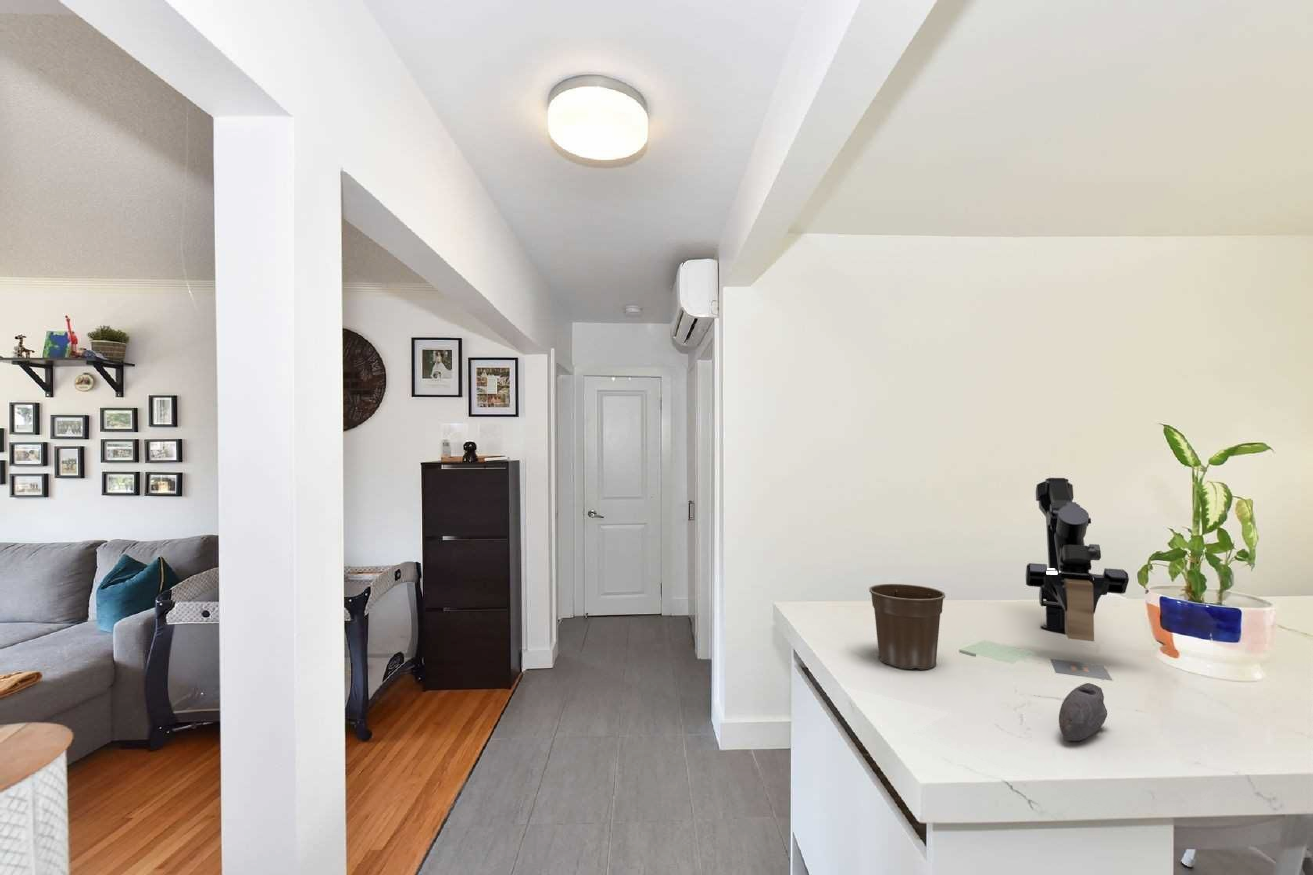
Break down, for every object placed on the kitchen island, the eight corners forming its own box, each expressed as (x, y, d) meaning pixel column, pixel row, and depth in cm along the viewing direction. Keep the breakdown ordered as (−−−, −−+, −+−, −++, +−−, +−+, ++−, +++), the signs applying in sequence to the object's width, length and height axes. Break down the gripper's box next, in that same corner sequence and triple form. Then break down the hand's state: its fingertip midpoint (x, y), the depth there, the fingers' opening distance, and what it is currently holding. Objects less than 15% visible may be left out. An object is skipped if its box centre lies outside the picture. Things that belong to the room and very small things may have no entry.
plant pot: (883, 645, 151) (883, 579, 152) (954, 659, 141) (953, 589, 142) (859, 663, 139) (858, 591, 139) (934, 680, 129) (933, 603, 129)
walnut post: (1064, 632, 136) (1064, 578, 136) (1090, 635, 134) (1089, 580, 134) (1068, 638, 132) (1067, 582, 132) (1094, 641, 130) (1093, 584, 130)
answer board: (984, 642, 153) (984, 640, 153) (1036, 655, 143) (1036, 653, 143) (959, 652, 146) (959, 649, 146) (1012, 666, 136) (1012, 663, 136)
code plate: (1049, 660, 140) (1049, 658, 140) (1103, 667, 135) (1103, 664, 135) (1055, 675, 131) (1055, 672, 131) (1113, 683, 126) (1113, 680, 126)
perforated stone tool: (1082, 753, 98) (1081, 709, 98) (1045, 740, 102) (1044, 698, 102) (1113, 726, 107) (1112, 686, 107) (1078, 716, 111) (1078, 677, 111)
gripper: (1026, 528, 141) (1031, 585, 131) (1126, 532, 133) (1140, 594, 123) (1023, 556, 148) (1028, 613, 138) (1118, 562, 140) (1131, 623, 130)
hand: (1079, 611), depth 132 cm, fingers closed on walnut post, 5 cm apart
